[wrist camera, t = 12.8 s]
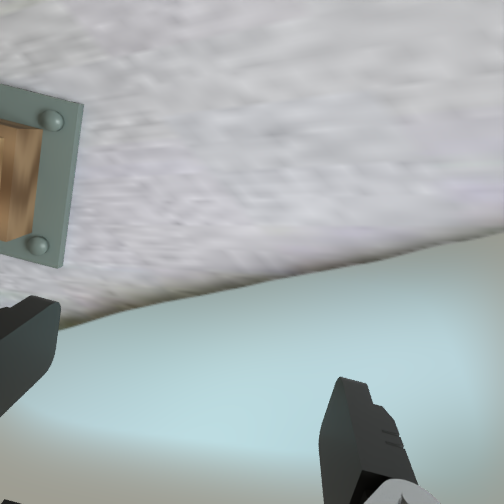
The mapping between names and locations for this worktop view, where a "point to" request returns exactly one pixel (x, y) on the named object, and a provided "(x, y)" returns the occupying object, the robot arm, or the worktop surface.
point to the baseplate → (46, 171)
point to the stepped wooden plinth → (18, 177)
